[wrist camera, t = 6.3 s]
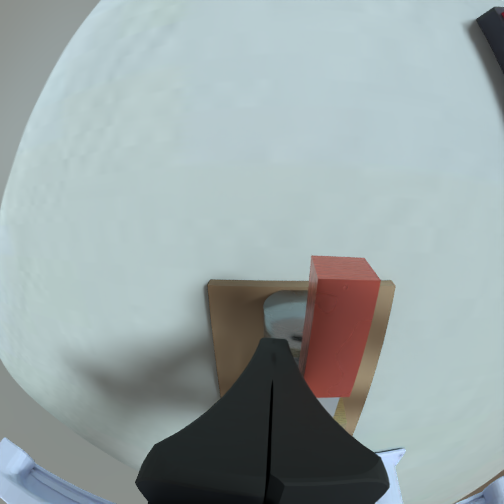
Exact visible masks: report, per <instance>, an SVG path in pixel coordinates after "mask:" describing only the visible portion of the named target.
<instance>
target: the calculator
mask: <svg viewBox="0 0 504 504" xmlns="http://www.w3.org/2000/svg"><path fill="white" fill-rule="evenodd" d="M477 22H478V24H479V26H480V28H481V29H482V31H483V33H484V35H485V37H486V38H487V40H488V42H489V44H490V46H491V48H492V50H493V52H494V54H495V56H496V58H497V60H498V62H499V65H500V67H501V69H502V71H503V73H504V7H493V8H492V9H490V10H489V11H487V12H486V13H484V14H483V15H481V16H480V17H478V18H477Z"/></svg>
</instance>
